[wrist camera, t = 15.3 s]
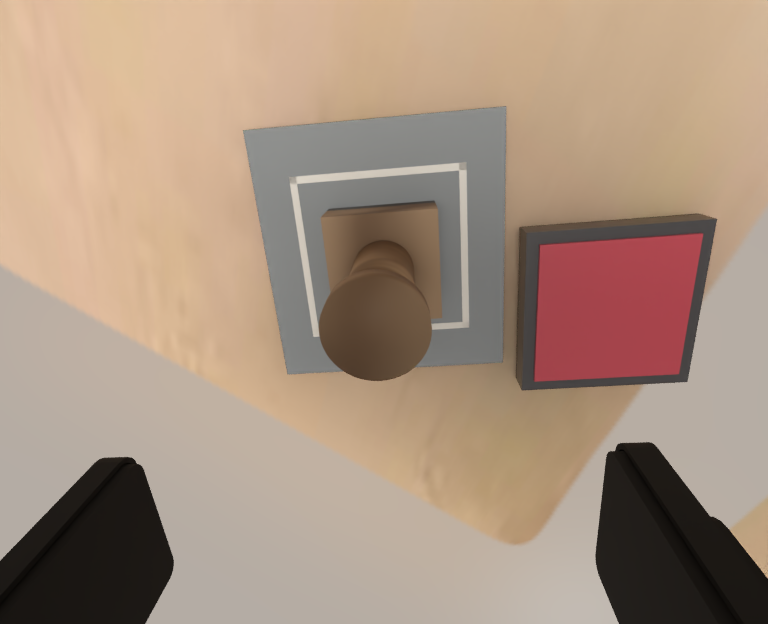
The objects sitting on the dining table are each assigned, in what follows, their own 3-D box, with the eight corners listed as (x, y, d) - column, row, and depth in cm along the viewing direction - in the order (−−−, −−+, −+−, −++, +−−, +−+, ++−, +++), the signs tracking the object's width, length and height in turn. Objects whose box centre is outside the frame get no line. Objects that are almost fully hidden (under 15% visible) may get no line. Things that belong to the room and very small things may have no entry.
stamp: (434, 200, 26) (454, 246, 16) (438, 300, 28) (458, 396, 18) (328, 208, 26) (282, 258, 16) (341, 306, 28) (307, 404, 18)
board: (503, 106, 24) (506, 106, 24) (500, 358, 30) (502, 362, 29) (246, 130, 25) (242, 130, 25) (289, 369, 31) (287, 374, 30)
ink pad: (699, 213, 26) (719, 219, 24) (672, 369, 30) (689, 383, 28) (519, 227, 27) (527, 233, 25) (516, 377, 30) (522, 391, 29)
